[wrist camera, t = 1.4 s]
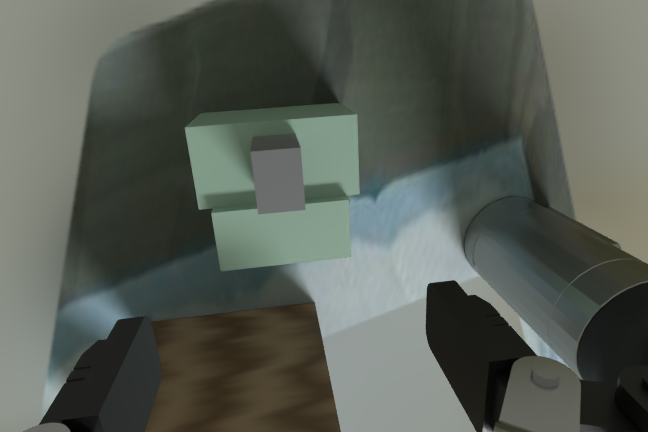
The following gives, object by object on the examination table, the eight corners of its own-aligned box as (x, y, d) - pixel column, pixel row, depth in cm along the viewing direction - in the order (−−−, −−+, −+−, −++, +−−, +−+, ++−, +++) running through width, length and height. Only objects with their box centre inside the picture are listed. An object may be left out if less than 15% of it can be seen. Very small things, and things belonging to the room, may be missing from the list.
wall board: (314, 302, 45) (350, 478, 26) (318, 357, 47) (354, 553, 29) (146, 322, 43) (55, 526, 24) (159, 378, 45) (87, 601, 27)
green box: (339, 102, 38) (373, 124, 26) (343, 215, 42) (376, 280, 30) (200, 112, 37) (169, 141, 25) (218, 228, 41) (199, 301, 28)
